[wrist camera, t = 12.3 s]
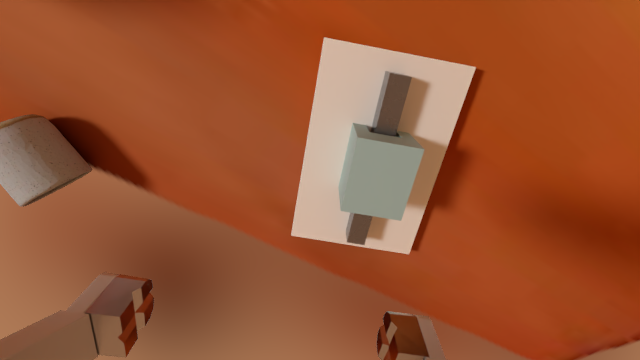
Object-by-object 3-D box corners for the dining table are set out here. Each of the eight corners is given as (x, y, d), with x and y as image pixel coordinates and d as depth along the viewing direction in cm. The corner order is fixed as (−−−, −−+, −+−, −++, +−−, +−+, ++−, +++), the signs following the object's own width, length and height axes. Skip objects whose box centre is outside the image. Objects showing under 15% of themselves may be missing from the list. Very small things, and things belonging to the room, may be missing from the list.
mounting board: (324, 37, 33) (324, 37, 31) (469, 66, 33) (476, 67, 32) (292, 229, 42) (291, 235, 41) (406, 247, 43) (409, 254, 42)
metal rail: (385, 70, 32) (390, 72, 30) (405, 74, 33) (412, 77, 30) (345, 231, 40) (346, 242, 38) (362, 233, 40) (364, 245, 38)
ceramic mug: (54, 104, 36) (-13, 119, 29) (105, 162, 39) (55, 189, 32) (-4, 146, 38) (-79, 169, 31) (48, 198, 41) (-10, 230, 34)
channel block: (352, 122, 35) (357, 137, 29) (409, 133, 35) (424, 149, 29) (338, 186, 38) (340, 210, 32) (390, 195, 38) (401, 220, 33)
